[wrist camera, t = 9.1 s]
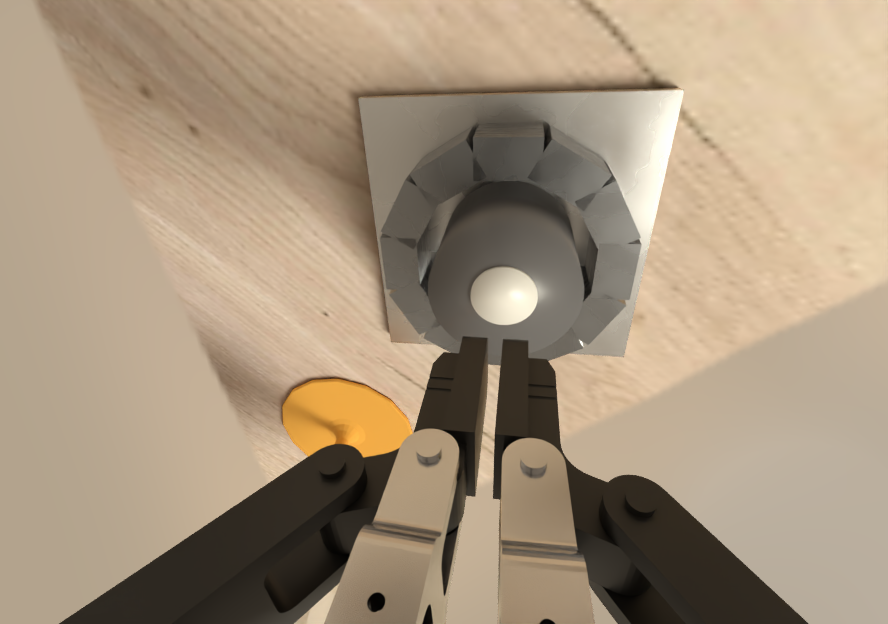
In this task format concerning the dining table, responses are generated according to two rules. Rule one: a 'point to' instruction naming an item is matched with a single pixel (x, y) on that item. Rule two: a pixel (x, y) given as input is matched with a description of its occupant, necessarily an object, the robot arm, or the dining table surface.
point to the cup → (341, 432)
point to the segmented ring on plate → (526, 160)
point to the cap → (507, 268)
